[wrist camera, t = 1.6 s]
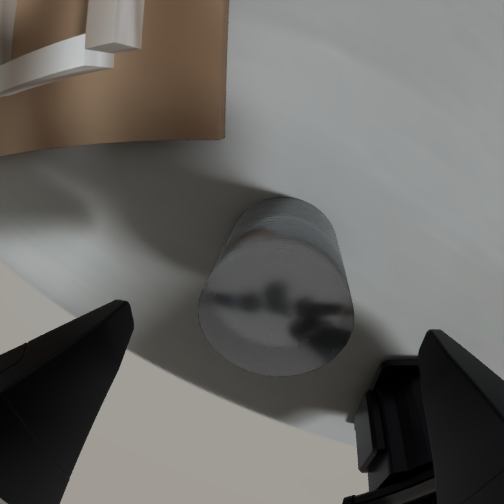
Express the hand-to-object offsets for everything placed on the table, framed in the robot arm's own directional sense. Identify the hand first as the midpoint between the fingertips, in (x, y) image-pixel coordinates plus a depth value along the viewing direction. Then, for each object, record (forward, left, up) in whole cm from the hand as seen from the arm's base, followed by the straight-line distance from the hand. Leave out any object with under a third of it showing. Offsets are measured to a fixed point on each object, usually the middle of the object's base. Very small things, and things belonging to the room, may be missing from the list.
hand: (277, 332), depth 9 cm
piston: (0, 0, -5) cm, 5 cm away
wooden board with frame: (+10, -12, -5) cm, 17 cm away
